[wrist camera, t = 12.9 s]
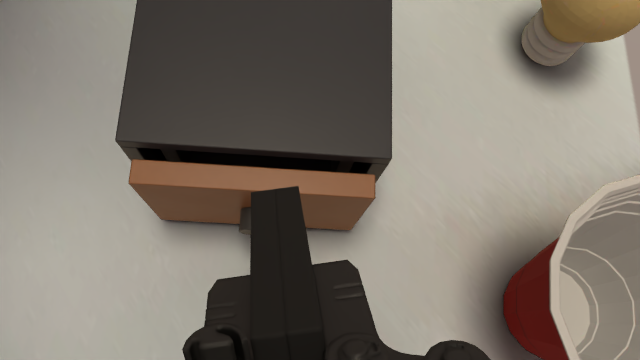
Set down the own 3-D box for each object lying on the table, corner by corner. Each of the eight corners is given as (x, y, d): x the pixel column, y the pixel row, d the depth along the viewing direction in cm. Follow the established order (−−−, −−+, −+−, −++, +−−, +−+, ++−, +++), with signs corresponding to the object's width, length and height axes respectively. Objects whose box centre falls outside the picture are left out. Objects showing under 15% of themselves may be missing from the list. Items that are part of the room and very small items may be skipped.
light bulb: (481, 37, 39) (551, -62, 29) (542, -7, 40) (627, -115, 31) (542, 103, 38) (636, 23, 28) (602, 56, 39) (710, -36, 30)
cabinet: (359, 207, 34) (392, 159, 25) (157, 195, 33) (114, 140, 24) (362, 8, 38) (392, -96, 29) (183, -8, 37) (155, -121, 28)
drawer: (350, 249, 33) (375, 223, 25) (158, 239, 32) (124, 209, 24) (355, 35, 37) (377, -43, 29) (185, 20, 36) (163, -63, 28)
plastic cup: (425, 273, 33) (507, 239, 22) (563, 197, 36) (702, 130, 24) (521, 442, 31) (667, 501, 20) (661, 349, 33) (865, 355, 22)
